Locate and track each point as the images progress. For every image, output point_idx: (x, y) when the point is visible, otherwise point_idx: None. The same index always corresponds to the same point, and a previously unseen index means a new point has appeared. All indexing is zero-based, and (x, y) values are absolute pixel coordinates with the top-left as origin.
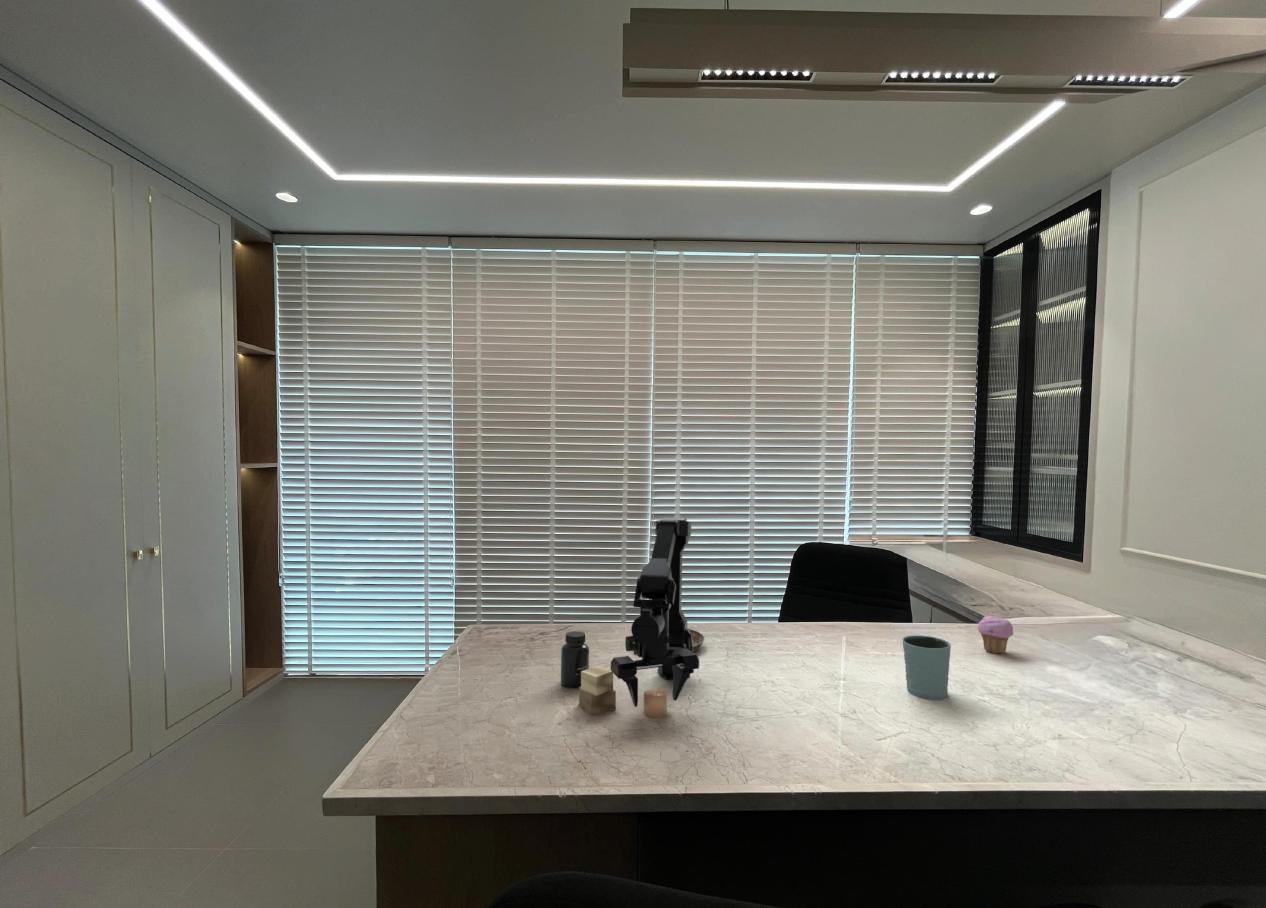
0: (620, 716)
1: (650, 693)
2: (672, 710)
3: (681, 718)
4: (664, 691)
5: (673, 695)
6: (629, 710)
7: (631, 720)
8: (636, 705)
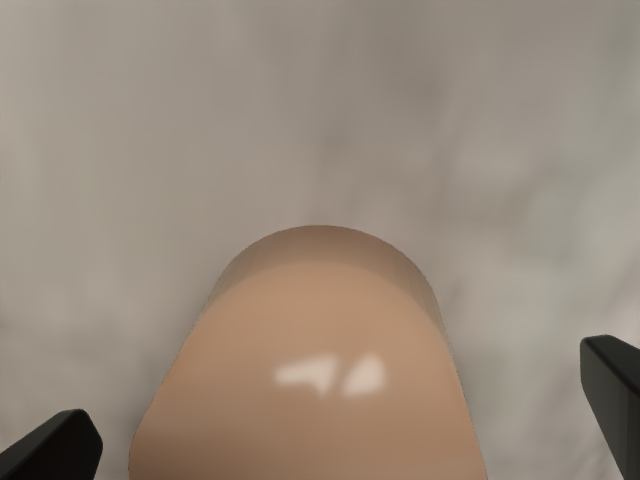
0: (2, 363)
1: (234, 474)
2: (509, 326)
3: (528, 470)
4: (476, 452)
5: (605, 393)
6: (67, 264)
7: (104, 436)
8: (92, 464)
